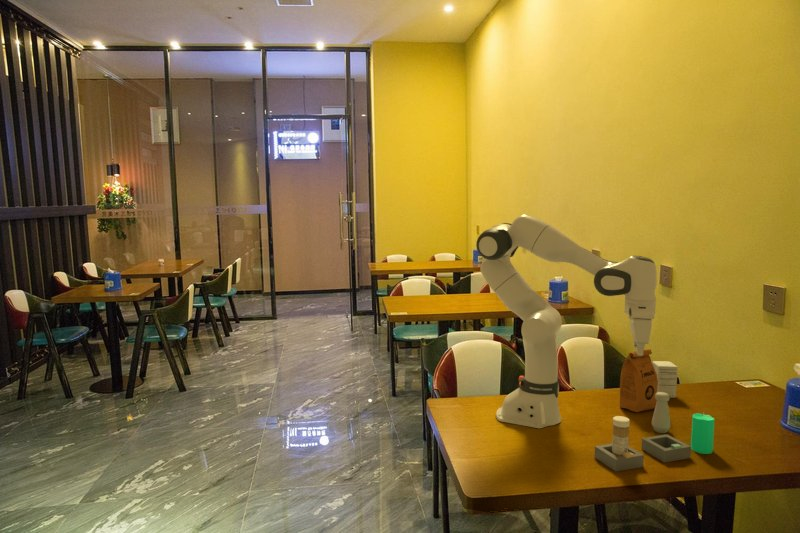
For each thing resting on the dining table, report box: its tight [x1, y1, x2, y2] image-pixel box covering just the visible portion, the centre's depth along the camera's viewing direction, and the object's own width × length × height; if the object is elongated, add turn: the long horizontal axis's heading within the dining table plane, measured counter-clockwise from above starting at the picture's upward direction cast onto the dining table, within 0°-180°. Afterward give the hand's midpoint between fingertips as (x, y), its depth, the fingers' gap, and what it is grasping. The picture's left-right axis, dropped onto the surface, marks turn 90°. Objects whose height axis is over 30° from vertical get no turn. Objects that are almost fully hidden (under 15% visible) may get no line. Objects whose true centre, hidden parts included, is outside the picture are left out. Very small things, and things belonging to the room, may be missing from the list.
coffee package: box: [619, 348, 658, 413], centre depth 208 cm, size 10×12×22 cm
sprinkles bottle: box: [611, 415, 630, 457], centre depth 165 cm, size 5×5×14 cm
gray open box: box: [594, 443, 645, 472], centre depth 166 cm, size 10×10×4 cm
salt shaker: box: [651, 392, 671, 434], centre depth 188 cm, size 6×6×13 cm
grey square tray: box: [641, 433, 692, 463], centre depth 171 cm, size 10×10×4 cm
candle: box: [690, 411, 716, 455], centre depth 173 cm, size 6×6×12 cm
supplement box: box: [651, 360, 678, 399], centre depth 223 cm, size 7×7×13 cm
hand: (638, 351), depth 178 cm, fingers open, 8 cm apart
